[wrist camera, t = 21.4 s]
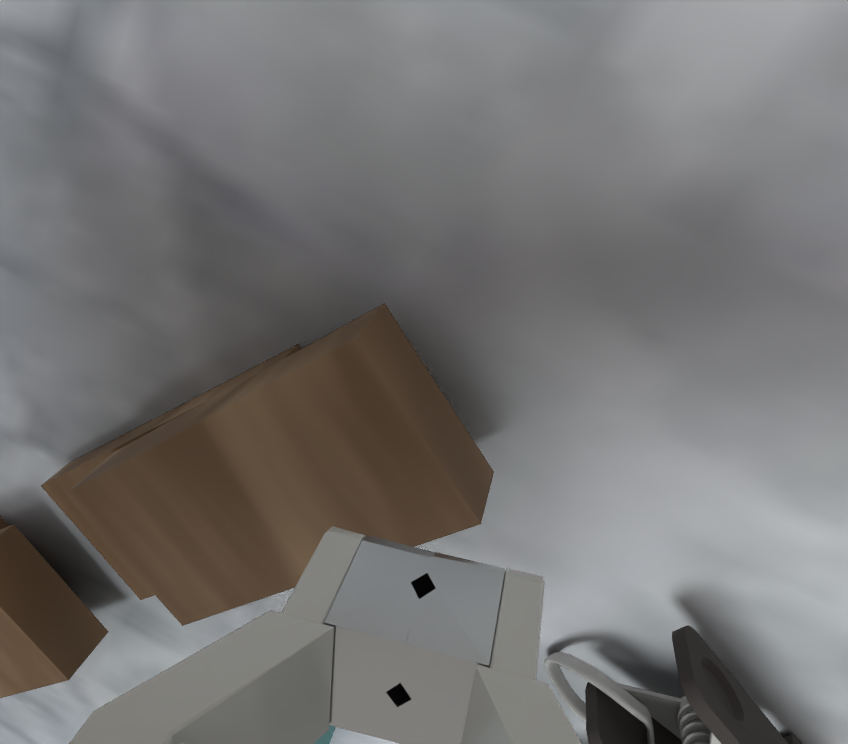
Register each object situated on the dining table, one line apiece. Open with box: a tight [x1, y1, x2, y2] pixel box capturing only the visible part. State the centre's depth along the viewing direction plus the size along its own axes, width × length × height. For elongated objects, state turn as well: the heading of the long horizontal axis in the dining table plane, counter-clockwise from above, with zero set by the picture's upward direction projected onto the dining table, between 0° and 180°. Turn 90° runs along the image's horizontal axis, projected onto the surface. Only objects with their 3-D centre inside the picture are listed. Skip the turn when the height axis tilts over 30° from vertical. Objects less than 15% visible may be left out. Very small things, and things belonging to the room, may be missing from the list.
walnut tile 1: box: [65, 303, 494, 626], centre depth 17 cm, size 2×5×10 cm
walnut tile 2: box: [41, 344, 301, 600], centre depth 20 cm, size 2×5×10 cm
